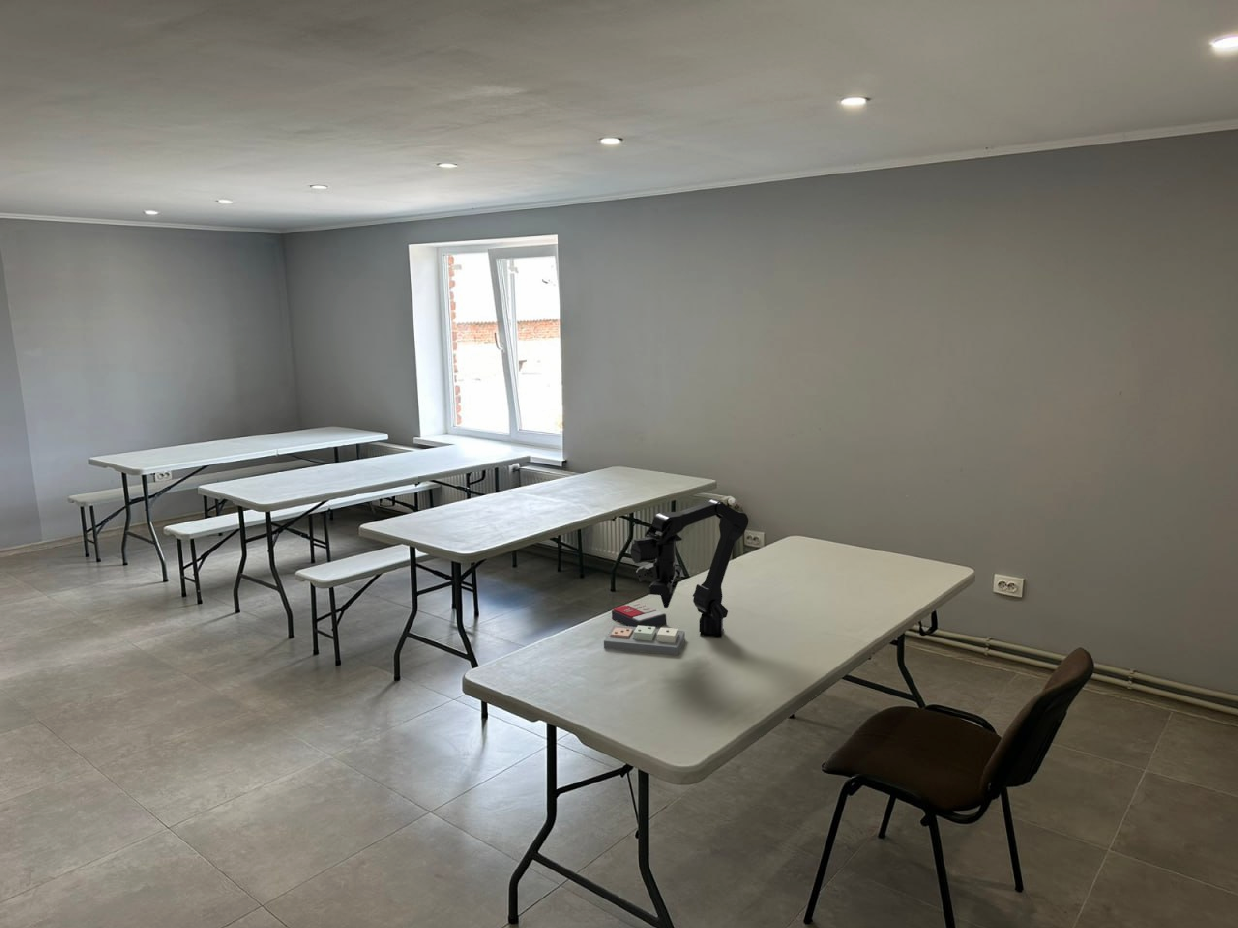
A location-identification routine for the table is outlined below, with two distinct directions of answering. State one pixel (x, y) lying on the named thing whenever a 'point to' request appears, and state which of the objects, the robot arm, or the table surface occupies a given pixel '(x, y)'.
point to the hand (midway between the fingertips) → (666, 607)
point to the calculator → (639, 615)
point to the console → (643, 643)
